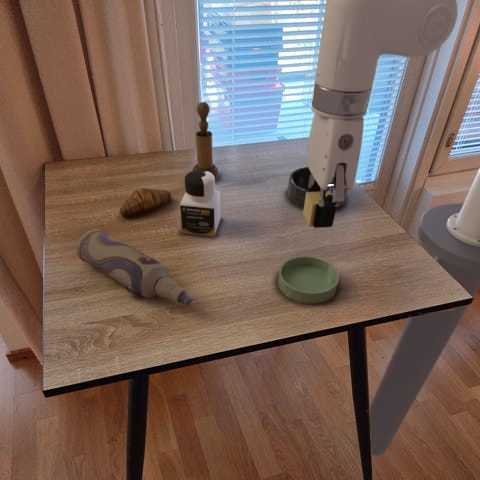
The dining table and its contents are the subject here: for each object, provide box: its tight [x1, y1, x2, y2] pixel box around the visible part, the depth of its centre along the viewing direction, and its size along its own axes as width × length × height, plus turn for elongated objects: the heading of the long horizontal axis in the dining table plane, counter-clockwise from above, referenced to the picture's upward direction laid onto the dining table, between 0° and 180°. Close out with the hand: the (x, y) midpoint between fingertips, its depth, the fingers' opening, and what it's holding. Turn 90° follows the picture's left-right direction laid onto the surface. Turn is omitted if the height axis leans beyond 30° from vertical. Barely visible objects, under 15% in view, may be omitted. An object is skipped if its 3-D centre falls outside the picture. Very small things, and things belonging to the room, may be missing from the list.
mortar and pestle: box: [192, 101, 219, 182], centre depth 102 cm, size 7×6×18 cm
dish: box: [277, 255, 340, 305], centre depth 78 cm, size 11×11×2 cm
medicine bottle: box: [179, 170, 221, 237], centre depth 87 cm, size 7×7×12 cm
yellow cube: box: [302, 191, 337, 228], centre depth 68 cm, size 4×4×4 cm
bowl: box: [287, 166, 349, 210], centre depth 101 cm, size 14×14×4 cm
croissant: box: [119, 187, 172, 218], centre depth 95 cm, size 14×7×5 cm, turn 134°
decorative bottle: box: [75, 228, 194, 306], centre depth 75 cm, size 26×8×7 cm, turn 52°
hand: (318, 217), depth 69 cm, fingers closed on yellow cube, 4 cm apart
